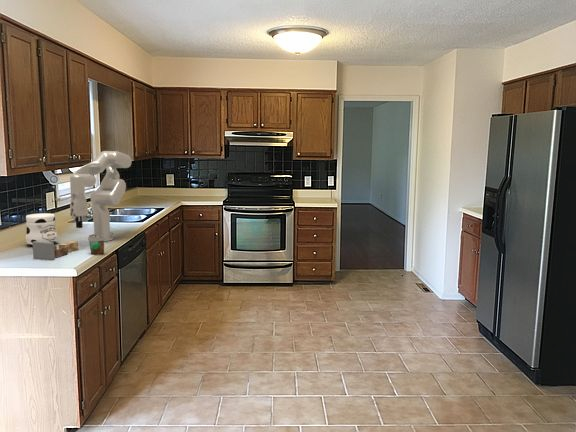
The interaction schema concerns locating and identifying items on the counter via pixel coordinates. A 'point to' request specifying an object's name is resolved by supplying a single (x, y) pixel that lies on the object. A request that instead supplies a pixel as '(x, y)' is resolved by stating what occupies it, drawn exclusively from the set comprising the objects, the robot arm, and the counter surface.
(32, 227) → the milk container
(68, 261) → the counter surface
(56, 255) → the cradle
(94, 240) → the food container
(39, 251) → the wall
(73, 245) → the oak bar
